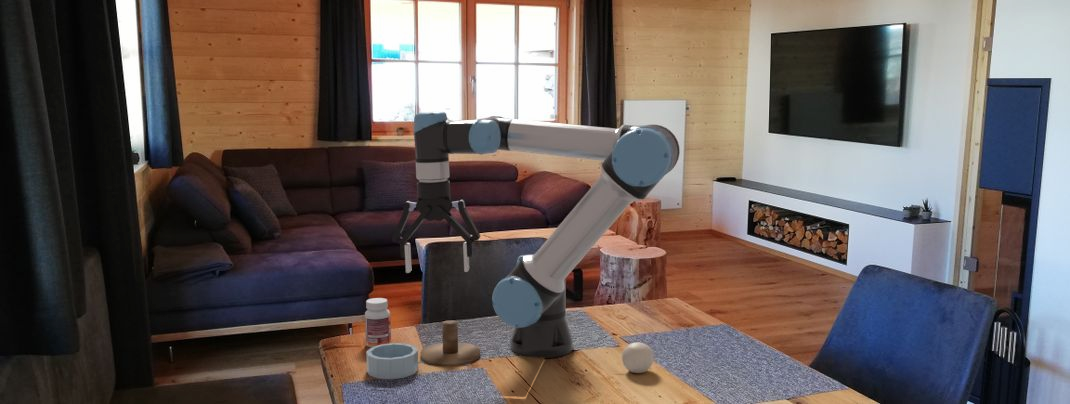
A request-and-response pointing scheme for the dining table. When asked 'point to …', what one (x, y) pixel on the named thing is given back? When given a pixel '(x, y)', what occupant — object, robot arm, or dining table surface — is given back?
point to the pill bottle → (377, 322)
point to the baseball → (637, 357)
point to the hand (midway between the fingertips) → (437, 271)
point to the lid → (450, 348)
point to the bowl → (392, 361)
